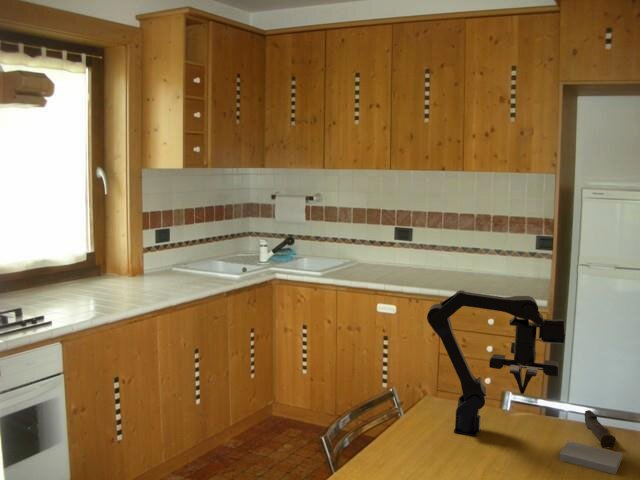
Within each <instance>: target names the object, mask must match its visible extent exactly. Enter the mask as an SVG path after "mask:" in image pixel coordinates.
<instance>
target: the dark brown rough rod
mask: <svg viewBox="0 0 640 480" xmlns="http://www.w3.org/2000/svg"><path fill="white" fill-rule="evenodd" d="M584 423H585V426H586V428H587V429H588V430H590V431H591V432H592V434H594V436H595V437H596V439H598V441H599V442H600V446H601V447H602V448H604V447H611V448H613V447H615V444H616V442H617V441H616V437H615V436H614V435H613V434H610V432H609V431H608V428H605V427H604V426H603V424H601V422H600V421H599V420H598V416H597V415H596V414H595V413H594V412H593V411H592V410H590V409H587V410H585V411H584Z"/></svg>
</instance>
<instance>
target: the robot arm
mask: <svg viewBox="0 0 640 480" xmlns="http://www.w3.org/2000/svg"><path fill="white" fill-rule="evenodd" d="M462 307H467V308H468V307H469V308H475V309H483V310H488V311H496V312H502V313H506V314H508V315H511V316H513V317H512V318H511V319H510V320H508V324H509V326H513V327H514V326H515V334H514V342H511V344H510V354H513V359H512V358H510V359H509V358H506V357H507V356H506V355H505V354H497V353H493V354H492V355H491V356H490V358H489V365H488V366H489V367H488V368H490V369H496V370H501V369H502V368H504V366H506V367H509V369H510V370H509V374H513V376H514V379H515V381H516V383H517V386H518V390H519V393H520V394H521V395H524V394H525V392H526V390H527V387H528V384H529V382H530V381H531V379H532V378H533V377H537V375H538V374H537V373H538V370H539V371H542V372H543V373H544V374H545V375H546V376H552V377H558V376H559V370H560V363H559V361H557V360H556V361H555V360H548V359H547V360H546V359H545V360H544V362H536V359H537V357H536V356H537V351H536V345H537V337H538V339H540V340H541V341H542V343H543V344H545V343H547V344H557V345H558V344H559V345H565V338H566V334H565V321H564V319H561V318H560V319H559V318H558V319H550V318H544V317H543V314H541V313H540V311H539V306H538V303H537V301H536V300H535V298H534V297H532V296H530V295H515V296H505V297H504V296H498V295H490V294H485V293H476V292H470V291H466V290H457V291H456V292H455V293H454V294H453V295H451V296H449V297H447V299H445V300H443V301H442V302H441V303H434V304H433V305H431V306H430V308H429V310H428V313H427V315H426V320H427V322H428V324H429V326H430V327H431V329H432V330H433V331H434V333H436V334H437V336H438V337H439V338H440V339H441V343H442V345H443V347H444V349H445V350H446V353H447V356H448V357H449V359H450V361H451V362H450V363H451V364H452V366H453V369H454V371H455V373H456V375H457V377H458V379H459V382H460V386H461V391H462V395H460V396H459V397H458V399H457V408H456V410H455V420H454V422H455V423H454V429H453V433H455V434H462V435H467V436H474V437H476V436H477V435H478V433H480V430H481V415H479V413H480V410H481V409H482V408H483V407H484V406H485V404H486V396H487V388H486V387H485V386H484V384H483V381H482V377H481V376H479V377H477V378H476V377H475V375H474V374H473V373H472V371H471V368H470V367H469V365H468V362H467V360H466V357H465V356H464V354H463V351H462V349H461V347H460V345H459V343H458V339H457V338H456V336H455V334H454V331H453V327H452V322H451V318H450V317H452V316H453V315H454V314H455V313H456V312H458V310H460V309H461V308H462ZM537 328H538V333H537ZM537 334H538V336H537ZM523 369H526V370H525V373H524V374H525V375H524V380H523Z"/></svg>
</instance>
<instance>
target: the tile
mask: <svg viewBox="0 0 640 480" xmlns="http://www.w3.org/2000/svg"><path fill="white" fill-rule="evenodd" d="M622 459H623V453H622V452H618V451H613V450H610V449H607V448H606V449H605V448H603V447H602V448H601V447H597V446H593V445H588V444H585V443H581V442H575V441H571V440H567V442H566V443H565V445H564V446H563V448H562V450H561V451H560V453H559V458H558V461H560V462H564V463H567V464H573V465H577V466H579V467H580V466H581V467H584V468H588V469H592V470H596V471H599V472H604V473H608V474H612V475H616V474H617V472H618V469H619V467H620V465H621V462H622Z"/></svg>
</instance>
